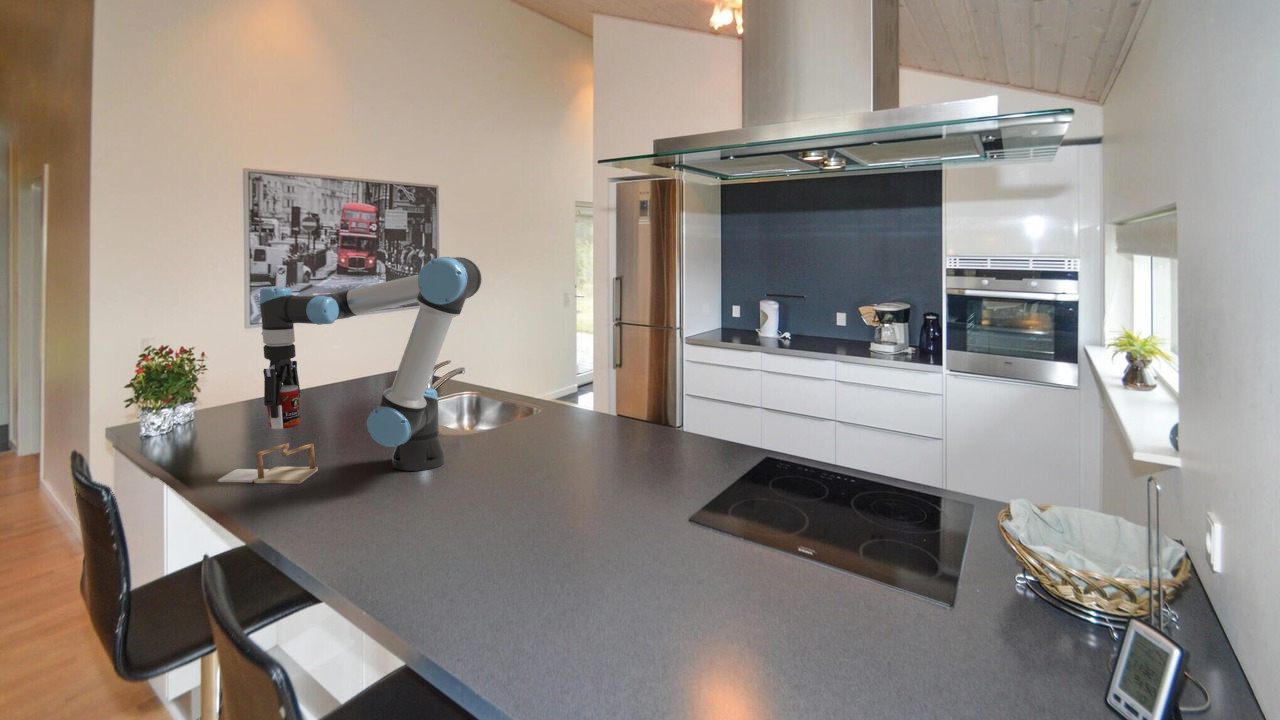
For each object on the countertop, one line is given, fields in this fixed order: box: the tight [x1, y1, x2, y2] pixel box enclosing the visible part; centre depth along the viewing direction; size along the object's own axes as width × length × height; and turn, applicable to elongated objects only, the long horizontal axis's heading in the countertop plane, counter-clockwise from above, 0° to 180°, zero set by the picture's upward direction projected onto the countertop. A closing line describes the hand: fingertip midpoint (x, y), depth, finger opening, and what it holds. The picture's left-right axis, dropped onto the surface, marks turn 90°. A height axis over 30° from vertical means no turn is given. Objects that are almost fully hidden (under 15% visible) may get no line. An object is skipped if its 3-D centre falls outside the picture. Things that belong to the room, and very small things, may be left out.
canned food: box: [266, 383, 301, 430], centre depth 173 cm, size 8×8×11 cm
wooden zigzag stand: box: [253, 442, 319, 485], centre depth 173 cm, size 12×10×8 cm
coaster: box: [217, 468, 270, 483], centre depth 173 cm, size 9×8×1 cm
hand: (284, 424), depth 174 cm, fingers closed on canned food, 8 cm apart
